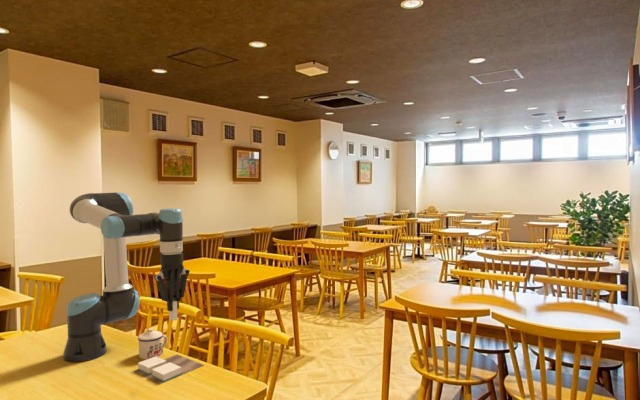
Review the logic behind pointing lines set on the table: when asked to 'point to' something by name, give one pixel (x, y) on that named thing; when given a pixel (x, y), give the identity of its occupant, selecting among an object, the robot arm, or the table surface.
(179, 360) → the walnut board
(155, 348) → the teacup with lid
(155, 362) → the tile
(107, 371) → the table surface
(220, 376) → the table surface
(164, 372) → the tile
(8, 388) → the table surface
